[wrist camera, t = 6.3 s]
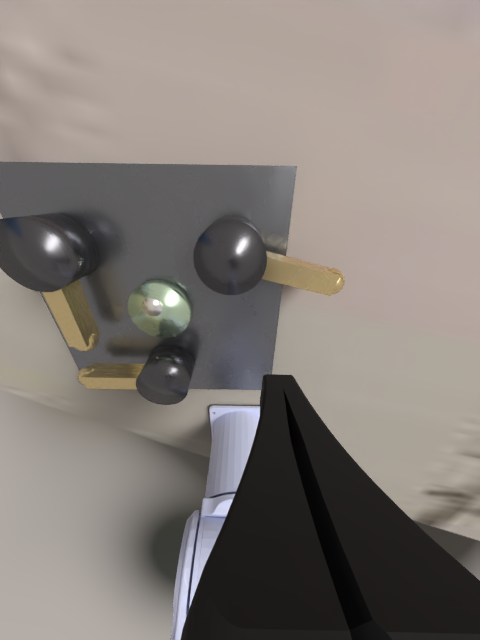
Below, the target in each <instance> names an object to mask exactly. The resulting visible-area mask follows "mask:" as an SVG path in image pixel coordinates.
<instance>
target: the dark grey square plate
mask: <svg viewBox="0 0 480 640" xmlns="http://www.w3.org/2000/svg"><path fill="white" fill-rule="evenodd" d="M296 169H297V166H252V165H183V164H114V163H44V162H0V213H1V215H2V217H3V219H4V218H11V217H21V216H30V215H40V214H49V213H59V214H64V215H66V216H69V217H71V218H73V219H75V220H76V221H78V222H79V223H81V224H82V225H83V226H84V227H85V228H86V229H87V230H88V231H89V232H90V234H91V235H92V236H93V238H94V240H95V242H96V244H97V247H98V250H99V263H98V266H97V267H96V269H95V270H94V271H93V272H92V273H90V274H88V275H86V276H84V277H82V278H80V279H79V281H80V283H81V286H82V289H83V291H84V294H85V296H86V299H87V301H88V304H89V307H90V309H91V312H92V314H93V317H94V319H95V322H96V325H97V327H98V330H99V332H100V335H99V336H98V339H99V341H98V344H97V346H96V347H95V348H93V349H92V350H89V351H79V350H77V349H75V348H74V347H69V345H68V343H67V341H66V339H65V337H64V335H63V333H62V331H61V329H60V327H59V325H58V323H57V321H56V319H55V317H54V315H53V313H52V311H51V309H50V307H49V305H48V303H47V301H46V299H45V297H44V295H43V293H42V292H40V293H41V295H42V297H43V299H44V301H45V303H46V305H47V307H48V309H49V311H50V313H51V315H52V317H53V319H54V321H55V323H56V325H57V327H58V329H59V331H60V333H61V335H62V337H63V339H64V341H65V343H66V345H67V347H68V348H69V350H70V352H71V354H72V356H73V358H74V360H75V362H76V364H77V366H78V368H79V370H81V369H83V368H84V367H86V366H91V365H92V364H93V363H122V364H145V363H146V362H147V360H148V358H149V356H150V355H151V353H152V351H153V350H154V349H156V348H157V347H159V346H163V345H174V346H178V347H181V348H183V349H185V350H186V351H187V352H189V353H190V354H191V356H192V357H193V359H194V363H195V367H194V371H193V374H192V378H191V381H190V385H189V389H240V390H261V389H262V380H263V376H264V375H265V374H270V375H272V367H273V359H274V351H275V342H276V334H277V326H278V318H279V309H280V301H281V293H282V284H280V283H276V282H272V281H268V280H264V279H261V280H260V281H259V283H258V284H257V285H256V286H255V287H253V288H252V289H251V290H249V291H247V292H245V293H242V294H239V295H224V294H220V293H217V292H215V291H213V290H211V289H210V288H208V287H207V286H206V285H205V284H204V283H203V282H202V281H201V280H200V278H199V276H198V275H197V272H196V270H195V267H194V262H193V253H194V248H195V245H196V242H197V240H198V238H199V237H200V235H201V234H202V233H203V232H204V231H205V230H206V229H207V228H208V227H209V226H210V225H211V224H212V223H213V222H215V221H216V220H218V219H220V218H222V217H226V216H238V217H241V218H244V219H246V220H248V221H249V222H251V223H252V224H253V225H254V226H255V227H256V229H257V230H258V232H259V234H260V236H261V238H262V241H263V243H264V246H265V249H266V251H269V252H272V253H276V254H280V255H284V256H286V251H287V243H288V235H289V227H290V218H291V210H292V202H293V194H294V185H295V177H296Z"/></svg>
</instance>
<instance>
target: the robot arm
mask: <svg viewBox="0 0 480 640" xmlns="http://www.w3.org/2000/svg"><path fill="white" fill-rule="evenodd" d="M209 413H210V424H211V434H212V446H211V454H210V462H209V470H208V478H207V487H206V494H205V498H204V499H203V502H202V510H201V515H200V511H198V510H195V511H194V512H193V514H192V515H191V516H190V517H189V518H188V520H187V522H186V526H185V530H184V534H183V539H182V545H181V550H180V556H179V562H178V568H177V576H176V583H175V591H174V601H173V614H174V616H173V623H172V631H171V639H170V640H480V581H479V580H478V579H477V578H476V577H475V576H474V575H472V574H471V573H470V572H469V571H468V570H467V569H466V568H465V567H463V566H462V565H461V564H460V563H459V562H458V561H457V560H455V559H454V558H453V557H452V556H451V555H450V554H449V553H447V552H446V551H445V550H444V549H443V548H442V547H441V546H439V545H438V544H437V543H436V542H435V541H434V540H433V539H432V538H430V536H428V534H426V533H425V532H424V531H423V530H422V529H421V528H420V527H419V526H418V525H417V524H416V523H415V522H414V521H413V520H412V519H411V518H409V517H408V516H407V515H406V514H405V513H404V512H403V511H402V510H401V509H400V508H399V507H398V506H397V505H396V504H395V503H394V502H393V501H392V500H391V499H390V498H389V497H388V496H387V495H386V494H385V493H384V492H383V491H382V490H381V489H380V488H379V487H378V486H377V485H376V484H375V483H374V482H373V481H372V479H371V478H370V477H369V476H368V475H367V474H366V473H365V472H364V471H363V470H362V469H361V468H360V466H359V465H358V464H357V463H356V462H355V461H354V460H353V458H352V457H351V456H350V455H349V454H348V453H347V452H346V450H345V449H344V448H343V447H342V446H341V444H340V443H339V442H338V441H337V439H336V438H335V437H334V436H333V434H332V433H331V432H330V430H329V429H328V428H327V426H326V425H325V424H324V422H323V421H322V420H321V418H320V417H319V415H318V414H317V413H316V411H315V410H314V408H313V407H312V405H311V404H310V403H309V401H308V399H307V398H306V396H305V395H304V393H303V392H302V390H301V389H300V387H299V385H298V384H297V382H296V380H295V378H294V377H293V376H292V375H270V374H265V375H264V376H263V380H262V389H261V397H260V406H219V405H213V406H210V408H209Z"/></svg>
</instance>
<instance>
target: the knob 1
mask: <svg viewBox="0 0 480 640" xmlns="http://www.w3.org/2000/svg"><path fill="white" fill-rule="evenodd" d="M98 263H99V250H98V247H97V244H96V242H95V240H94V238H93V236H92V235H91V234H90V232H89V231H88V230H87V229H86V228H85V227H84V226H83V225H82V224H81V223H79V222H78V221H76V220H75V219H73V218H71V217H69V216H66V215H64V214H59V213H49V214H40V215H30V216H21V217H11V218H4V219H0V268H1V269H2V270H3V271H4V272H5V273H6V274H7V275H8V276H9V277H11V278H12V279H13V280H15V281H16V282H18V283H19V284H21V285H23V286H25V287H27V288H29V289H32V290H35V291H39V292H42V293H43V295H44V297H45V299H46V301H47V303H48V305H49V307H50V309H51V311H52V313H53V315H54V317H55V319H56V321H57V323H58V325H59V327H60V329H61V331H62V333H63V335H64V337H65V339H66V341H67V343H68V345H69V347H74V348H75V349H77V350H79V351H89V350H92V349H93V348H95V347H96V346H97V344H98V341H99V339H98V336H99V335H100V332H99V330H98V327H97V325H96V322H95V319H94V317H93V314H92V312H91V309H90V307H89V304H88V301H87V299H86V296H85V294H84V291H83V289H82V286H81V283H80V281H79V279H80V278H82V277H84V276H86V275H88V274H90V273H92V272H93V271H94V270H95V269H96V267H97V266H98Z"/></svg>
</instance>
